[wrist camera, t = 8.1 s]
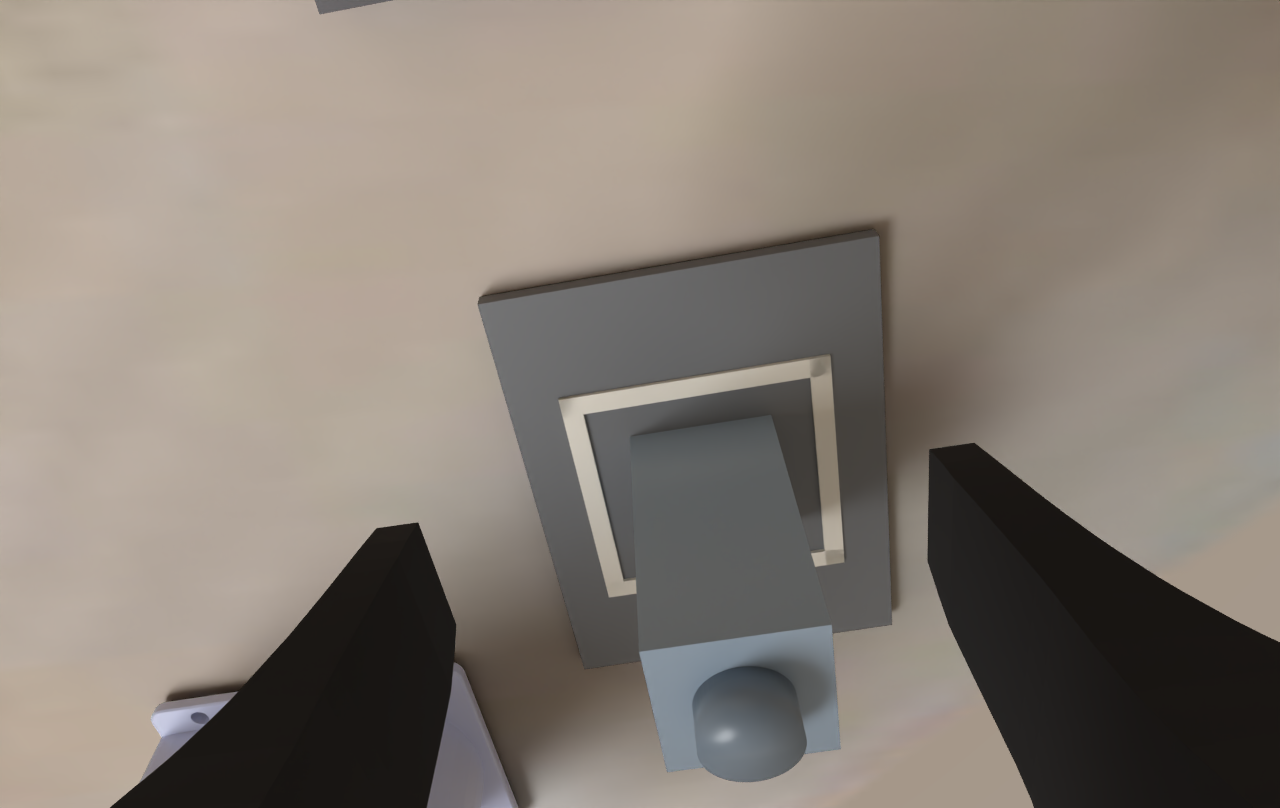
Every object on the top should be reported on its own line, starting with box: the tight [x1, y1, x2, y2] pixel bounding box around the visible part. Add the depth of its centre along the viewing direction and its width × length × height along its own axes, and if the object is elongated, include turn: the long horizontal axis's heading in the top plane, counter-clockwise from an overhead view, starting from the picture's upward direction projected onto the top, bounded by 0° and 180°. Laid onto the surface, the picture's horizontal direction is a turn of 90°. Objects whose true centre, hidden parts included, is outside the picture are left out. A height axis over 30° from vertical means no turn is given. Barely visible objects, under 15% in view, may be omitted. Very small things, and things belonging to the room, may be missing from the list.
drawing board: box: [478, 229, 892, 669], centre depth 24 cm, size 9×12×1 cm
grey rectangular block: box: [630, 415, 841, 782], centre depth 20 cm, size 4×4×8 cm
